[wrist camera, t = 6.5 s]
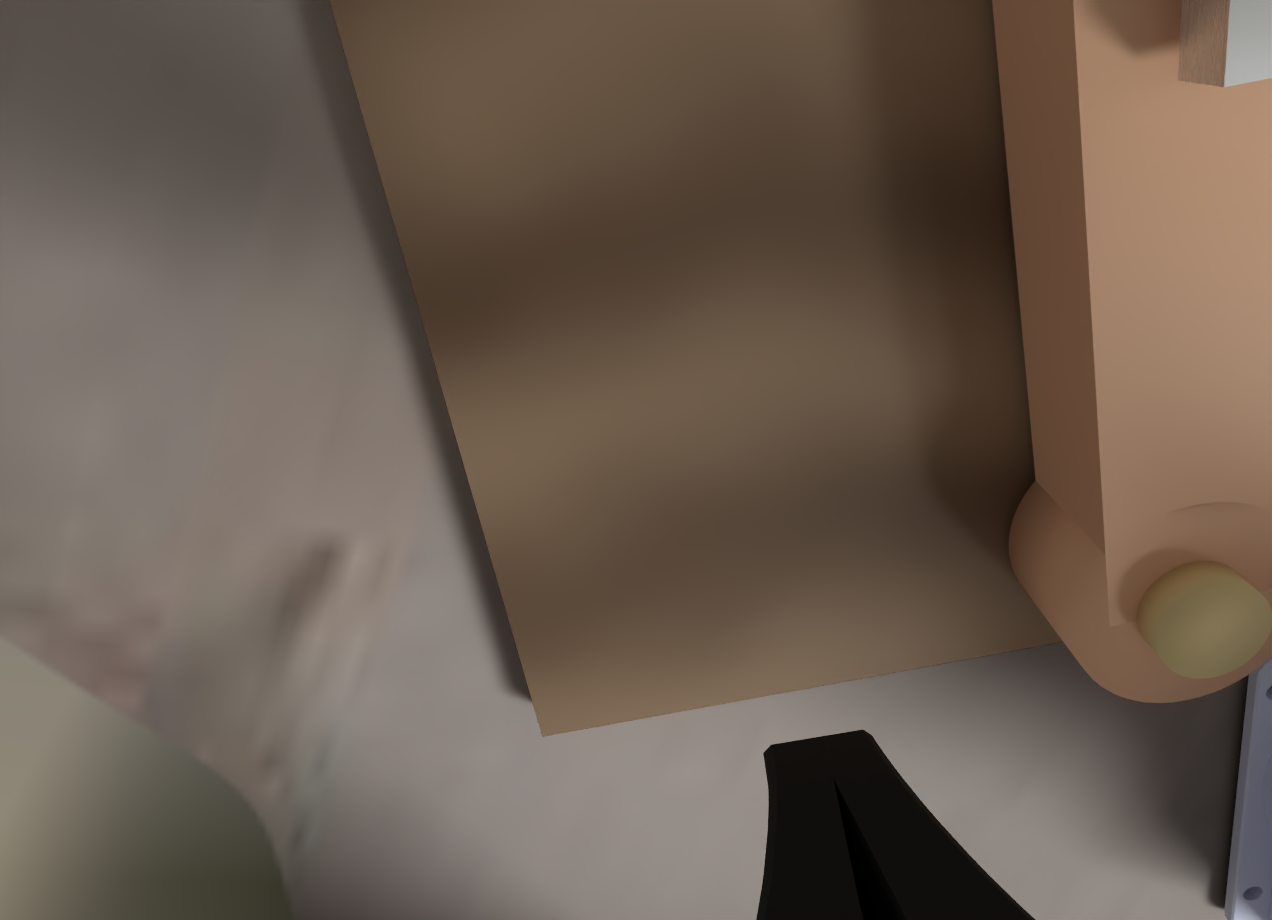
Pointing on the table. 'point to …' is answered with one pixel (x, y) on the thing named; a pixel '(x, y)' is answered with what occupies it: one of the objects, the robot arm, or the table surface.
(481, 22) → the walnut plate
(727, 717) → the table surface
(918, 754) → the table surface
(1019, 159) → the pivot arm
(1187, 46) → the block
